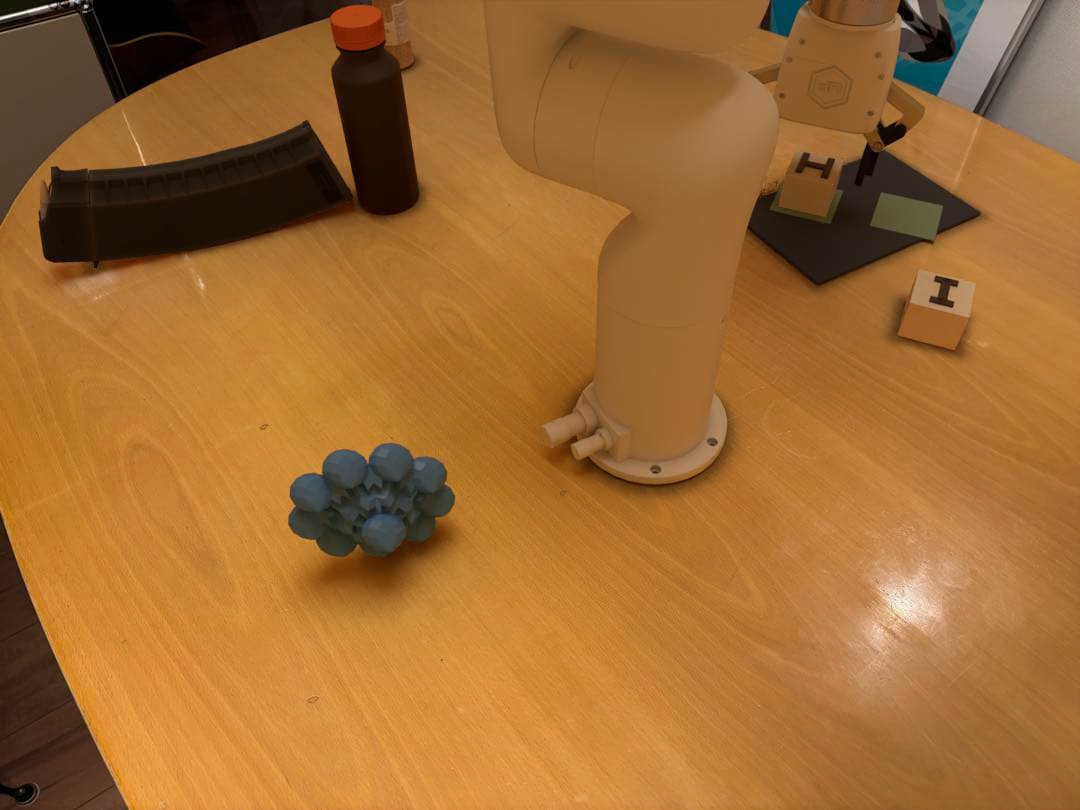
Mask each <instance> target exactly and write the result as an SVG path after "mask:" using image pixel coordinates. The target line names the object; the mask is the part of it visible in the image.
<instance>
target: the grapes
mask: <svg viewBox="0 0 1080 810" xmlns="http://www.w3.org/2000/svg"><path fill="white" fill-rule="evenodd" d="M321 466H322V467H321V473H316V472H308V473H303V474H301V475H300V476H298V477H297V478H295V479H294V480H293V482H292V483H291V485H290V486H289V498H290V500H291V502H292V504H293V505H294V507H293V508H292V509H291V510H290V513H289V514H288V518H287V525H288V528H289V529H290V530H291V532H292V533H293V534H294V535H296V536H298V537H300V538H301V539H305V540H309V541H315V543H316V545H317V546H318V548H319V550H320V551H322V552H323V553H324V554H326V555H328V556H332V557H336V558H345V557H347V556H348V555H350V554H351V553H353V552H354V551H355V550H356V548H357V547H358V546H359V548H360V550H361V551H362V552H363V553H365V554H367V555H368V556H370V557H375V558H386V557H388V556H390V555H391V554H393V552H395V551H396V549H397V548H398V547H400V546H401V545H402V543H403V542H404V540H406V541H408V542H412V543H413V542H414V543H424V542H425V541H427V540H428V539H429V538H430V537H432V535H433V534H434V532H435V530H436V527H437V519H440V518H443V517H445V516H447V514H449V513H450V512H451V511H452V509H453V507H454V506H455V504H456V503H455V501H456V495H455V493H454V491H453V489H452V488H451V487H450V486H448V485H447V484H446V482H447V481H448V470H447V468H446V466H445V464H444V463H443V461H440V460H439V459H437V458H436V457H432V456H428V455H424V456H423V455H422V456H416V457H415V458H414V456H413V454H412V452H411V451H410V449H408V448H407V447H405V446H404V445H402V444H399V443H396V442H385V443H380V444H379V445H378V446H376V447H375V448H374V449H373V450H372V452H371V453H370V455H369V456H368V461H367V459H366V458H365V456H364V455H363V454H361V453H360V452H358V451H356V450H353V449H348V448H342V449H336V450H333V451H332V452H330V453H329V454H327V456H326V457H325V459H324V460H323V462H322V465H321Z"/></svg>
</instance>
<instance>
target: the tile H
mask: <svg viewBox="0 0 1080 810" xmlns="http://www.w3.org/2000/svg"><path fill="white" fill-rule="evenodd" d="M844 162H845V159H843V158H838V157H833V156H829V155H824V154H819V153H815V152H810V151H805V150H801V149H796V150H795V153H794V154H793V156H792V159H791V160H790V163H789V165H788V166H787V167H788V168H787V169H786V171H785V173H784V178H783V180H784V182H783V181H782V182H783V186H782V191H781V196H780V200H779V205H778V206H779V207H783V208H787V209H791V210H796V211H800V212H804V213H809V214H813V215H817V216H822V217H826V215H827V212H828V210H829V207H830V205H831V202H832V200H833V197H834V195H835V192H836V189H837V185H838V181H839V178H840V174H841V170H842V166H843V165H844Z"/></svg>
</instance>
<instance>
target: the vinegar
mask: <svg viewBox="0 0 1080 810" xmlns="http://www.w3.org/2000/svg"><path fill="white" fill-rule="evenodd" d="M329 24H330V28H331V33H332V38H333V42H334V44H335V49H336V50H337V51H338V52H339V55H338V56H337V58H336V59H335V61H334V63H333V64H332V66H331V67H330V76H331V81H332V85H333V90H334V95H335V100H336V103H337V104H336V105H337V109H338V114H339V118H340V122H341V127H342V132H343V137H344V141H345V146H346V150H347V151H346V152H347V155H348V160H349V164H350V165H349V166H350V170H351V174H352V178H353V183H354V189H355V192H356V197H357V201H358V204H360V206H361V207H362V208H364V209H365V210H367V211H369V212H372V213H376V214H379V215H380V214H381V215H382V214H383V215H390V214H396V213H399V212H403V211H405V210H407V209H408V208H409V207H411V206H413V205H414V204H415V203H416V202H417V200H418V198H419V195H420V187H419V179H418V175H417V167H416V166H417V165H416V161H415V160H416V159H415V154H414V147H413V140H412V134H411V127H410V120H409V114H408V108H407V107H408V106H407V102H406V95H405V87H404V82H403V81H404V80H403V74H402V69H401V68H400V63H399V61H398V60H397V58H396V57H395V56H394V55H393V54H391V53H390V52H389V51H387V50H386V49H385V48H384V45H385V43H386V34H385V27H384V21H383V15H382V12H381V10H379V9H378V8H375V7H373V6H372V5H367V4H354V5H349V6H345V7H341V8H339V9H337V10H335V11H334V12H333V13H332V14H331V15H330V16H329Z"/></svg>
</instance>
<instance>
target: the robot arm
mask: <svg viewBox="0 0 1080 810" xmlns="http://www.w3.org/2000/svg"><path fill="white" fill-rule="evenodd" d="M770 2H771V0H482V4H483V14H484V24H485V25H484V26H485V33H486V43H487V52H488V64H489V71H490V73H489V74H490V80H491V81H490V82H491V91H492V92H491V93H492V100H493V109H494V116H495V122H496V123H495V124H496V127H497V131H498V137H499V139H500V142H501V144H502V147H503V148H504V150H505V152H506V154H507V155H508V157H509V158H510V160H512V161H513V162H514V163H515V164H516V165H517V166H518V167H519V168H522V169H523V170H525V171H527V172H529V173H530V174H533V175H535V176H538V177H541V178H542V179H546V180H548V181H552V182H555V183H558V184H560V185H564V186H567V187H570V188H573V189H576V190H578V191H582V192H585V193H588V194H591V195H593V196H597V197H600V198H602V199H604V200H605V201H608V202H611V203H614V204H616V205H619V206H621V207H623V208H625V209H627V210H629V211H630V213H628V214H627V215H626V216H625V217H623V219H621V220H620V221H619V222H618V223H617V224H616V226H614V228H613V229H612V230H611V231H610V232H609V234H608V235H607V236H606V238H605V240H604V242H603V245H602V247H601V249H600V253H599V256H598V261H597V263H598V264H597V273H596V274H597V275H596V276H597V277H596V279H597V281H596V282H597V289H596V290H597V292H596V294H597V295H596V318H595V319H596V323H595V326H596V327H595V346H594V347H595V348H594V375H593V377H594V378H593V380H592V381H591V382H590V383H589V384H588V385H587V386H586V387H585V388H584V389H582V391H581V394H580V396H579V397H578V400H577V402H576V405H575V407H572V411H571V413H570V414H567V415H565V416H563V417H558V418H556V419H553V420H551V421H549V422H547V423H544V424H542V425H540V426H539V432H540V436H541V438H542V440H543V442H544V444H545V445H546V446H547V447H548V448H549V449H551V448H554V447H556V446H558V445H561V444H563V443H565V442H567V441H570V440H571V438H573V437H576V439H577V441H576V442H573V443H571V444H570V451H571V454H572V456H573V457H574V458H575V459H576V460H577V461H581V460H582V459H586V458H587V457H588V458H589V459H590V460H591V462H593V463H594V464H595V465H596V466H598V467H599V468H600V469H601V470H603V471H604V472H607V473H609V474H610V475H612V476H614V477H617V478H620V479H623V480H625V481H627V482H632V483H638V484H643V485H666V484H674V483H678V482H681V481H684V480H687V479H690V478H692V477H694V476H696V475H698V474H700V473H702V472H703V471H704V470H706V469H707V468H708V467H710V466H711V465H712V464H713V462H714V461H715V460H716V459H717V458H718V457H719V455H720V454H721V451H722V449H723V447H724V446H725V441H726V437H727V432H728V418H727V411H726V409H725V407H724V405H723V402H722V400H721V399H720V397H719V396H718V395H717V393H716V392H715V391H716V384H717V379H718V373H719V368H720V362H721V357H722V353H723V352H722V351H723V347H724V342H725V336H726V331H727V325H728V318H729V313H730V308H731V303H732V297H733V293H734V288H735V284H736V283H735V282H736V277H737V272H738V266H739V261H740V259H741V253H742V248H743V245H744V241H745V238H746V237H745V236H746V233H747V230H748V228H747V227H748V224H749V220H750V217H751V214H752V212H753V209H754V206H755V204H756V201H757V199H758V198H759V196H760V193H761V190H762V188H763V185H764V182H765V180H766V178H767V174H768V172H769V169H770V168H771V164H772V162H773V158H774V155H775V152H776V149H777V145H778V141H779V140H778V139H779V134H780V126H781V125H780V123H781V120H780V119H782V120H786V121H788V122H793V123H797V124H802V125H806V126H812V127H817V128H821V129H827V130H832V131H836V132H842V133H845V134H852V135H863V136H864V138H865V140H866V144H865V146H864V149H863V153H862V155H861V158H860V159H861V162H860V165H859V169H858V172H857V176H856V179H855V183H854V184H856V186H859V187H861V185H862V182H863V180H864V177H865V175H866V176H871V177H872V175H873V172H874V169H875V166H876V163H877V159H878V156H879V153H880V152H881V151H882V150H885V148H886V147H887V146H890V145H892V144H893V143H895V142H898V141H899V140H901V139H903V138H904V137H905V136H906V134H908V132H909V131H911V130H912V129H913V128H914V127H915V126H916V125H917V124H918V123H919V122H920V121H921V120H922V119H923V117H924V115H925V112H926V107H925V105H923V104H922V103H921V102H919V101H918V100H917V99H916V98H914V97H913V96H912V95H911V94H909V93H908V92H907V91H906V90H904V89H903V88H901V87H900V86H899V85H898V84H897V83H895V82H894V81H893V78H894V74H895V70H896V65H897V60H898V55H899V49H900V43H901V36H902V35H901V33H902V17H901V14H900V13H898V8H899V5H900V2H901V0H808V1H806V2H805V3H804V4H802V6H801V7H800V8H799V9H798V11H797V14H796V16H795V18H794V22H793V23H792V27H791V29H790V31H789V35H788V38H787V42H786V46H785V47H784V51H783V55H782V58H781V62H778V63H777V62H776V63H774V64H770V65H768V66H764V67H760V68H756V69H753V70H750V71H745V70H743V69H741V68H738V67H736V66H734V65H732V64H729V63H728V62H725V61H721V60H718V59H715V58H711V57H708V56H705V55H708V54H720V53H724V52H728V51H731V50H734V49H735V48H738V47H739V46H740V45H742V44H743V43H745V42H746V41H748V40H749V39H750V38H752V36H753V34H754V33H755V32H756V30H757V29H758V27H759V26H760V24H761V23H762V22H763V19H764V17H765V15H766V13H767V10H768V7H769V5H770ZM704 54H705V55H704ZM773 82H775V87H774V91H773V94H772V93H771V91H770V90H769V89H768V87H766V86H765V85H766V84H769V83H770V84H771V83H773ZM887 104H890V105H891V106H892V107H893V108H895V109H896V110H897V111H899V112H900V113H901V114H902V116H901V117H900V118H899V119H898V120H895V121H894V122H892V123H890V124H888V125H886V123H885V122H884V120H883V118H882V115H883V113H884V110H885V107H886V105H887Z"/></svg>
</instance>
